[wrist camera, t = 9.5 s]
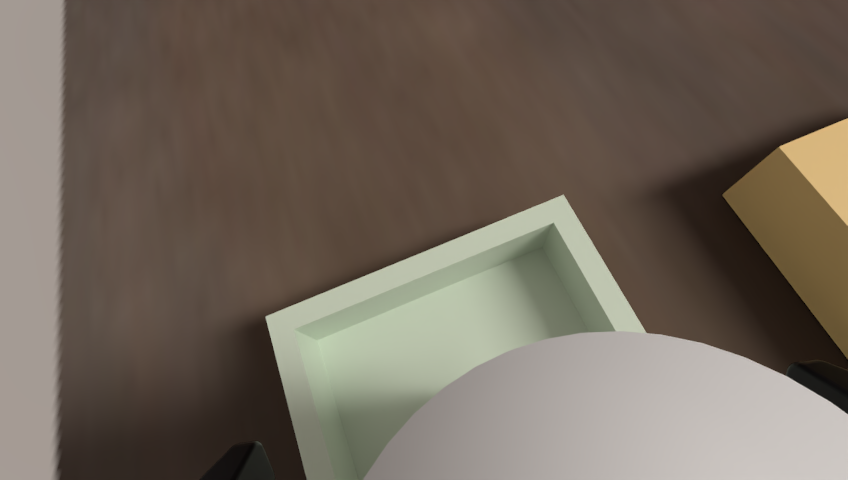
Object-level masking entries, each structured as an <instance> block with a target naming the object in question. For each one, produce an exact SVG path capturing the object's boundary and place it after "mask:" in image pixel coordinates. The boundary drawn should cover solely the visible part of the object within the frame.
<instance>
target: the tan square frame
mask: <svg viewBox="0 0 848 480" xmlns="http://www.w3.org/2000/svg"><path fill="white" fill-rule="evenodd" d="M722 196H723V197H724V198H725V200H726V201H727V202H728V204H729V205H730V206H731V207H732V209H733V210H734V211H735V213H736V214H737V215H738V217H739V218H740V219H741V221H742V222H743V223H744V224H745V226H746V227H747V228H748V230H749V231H750V232H751V234H752V235H753V236H754V238H755V239H756V240H757V241H758V243H759V244H760V245H761V247H762V248H763V249H764V251H765V252H766V253H767V254H768V256H769V257H770V258H771V260H772V261H773V262H774V264H775V265H776V266H777V268H778V269H779V270H780V271H781V273H782V274H783V275H784V277H785V278H786V279H787V281H788V282H789V283H790V285H791V286H792V287H793V288H794V290H795V291H796V292H797V294H798V295H799V296H800V298H801V299H802V300H803V301H804V303H805V304H806V305H807V307H808V308H809V309H810V311H811V312H812V313H813V315H814V316H815V317H816V318H817V320H818V321H819V322H820V324H821V325H822V326H823V328H824V329H825V330H826V332H827V333H828V334H829V335H830V337H831V338H832V339H833V341H834V342H835V343H836V345H837V346H838V347H839V349H840V350H841V351H842V352H843V354H844V355H845V356H846V358H847V359H848V118H847V119H845V120H842V121H840V122H837V123H835V124H833V125H830V126H828V127H825V128H823V129H820V130H818V131H816V132H813V133H811V134H808V135H806V136H804V137H801V138H799V139H796V140H794V141H791V142H789V143H787V144H784V145H782V146H779V147H778V148H777V149H776V150H774V151H773V152H772V153H771V154H770V155H768V156H767V157H766V158H765V159H764V160H763V161H761V162H760V163H759V164H758V165H757V166H755V167H754V168H753V169H752V170H751V171H750V172H748V173H747V174H746V175H745V176H744V177H742V178H741V179H740V180H739V181H738V182H737V183H735V184H734V185H733V186H732V187H731V188H729V189H728V190H727V191H726V192H725V193H724V194H722Z"/></svg>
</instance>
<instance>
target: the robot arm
mask: <svg viewBox="0 0 848 480" xmlns="http://www.w3.org/2000/svg"><path fill="white" fill-rule="evenodd" d="M786 376H787V377H789V378H790V379H792V380H794V381H796V382H797V383H799V384H801V385H802V386H804V387H806V388H808V389H809V390H811V391H813V392H814V393H816V394H818V395H820V396H821V397H823V398H825V399H826V400H828V401H830V402H831V403H833V404H834V405H835V406H837V407H838V408H840V409H841V410H842V411H844V412H845V413H847V414H848V370H847V369H844V368H841V367H839V366H836V365H833V364H831V363H828V362H825V361H822V360H808V361H801V362H795V363H792V364H791V365H790V366H789V367H788V369H787V373H786ZM200 480H275V476H274V472H273V469H272V467H271V464H270V462H269V460H268V457H267V455H266V453H265V450H264V448H263V446H262V444H261V443H260V442H258V441H251V442H244V443H238V444H235V445H234V446H232V447H231V448H230V449H229V450H228V451H227V452H226V453H225V454H224V455H223V456H222V457H221V458H220V459H219V460H218V461H217V462H216V463H215V464H214V465H213V466H212V467H211V468H210V469H209V470H208V471H207V472H206V473H205V474H204V475H203V476H202V477H201V478H200Z"/></svg>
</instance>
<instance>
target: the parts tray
mask: <svg viewBox="0 0 848 480" xmlns="http://www.w3.org/2000/svg"><path fill="white" fill-rule="evenodd" d="M265 317H266V321H267V325H268V329H269V333H270V337H271V341H272V345H273V349H274V353H275V357H276V360H277V364H278V368H279V372H280V376H281V380H282V384H283V388H284V392H285V396H286V400H287V404H288V408H289V412H290V416H291V420H292V424H293V427H294V431H295V435H296V439H297V443H298V447H299V451H300V455H301V459H302V463H303V467H304V471H305V475H306V479H307V480H363V479H364V477H365V476H366V475H367V473H368V472H369V470H370V469H371V467H372V466H373V464H374V463H375V461H376V460H377V458H378V457H379V455H380V454H381V453H382V451H383V450H384V448H385V447H386V445H387V444H388V443H389V442H390V440H391V439H392V438H393V437H394V436H395V435H396V434H397V432H398V431H399V430H400V429H401V428H402V427H403V426H404V425H405V423H406V422H407V421H408V420H409V419H410V418H411V417H412V415H413V414H414V413H415V412H416V411H418V410H419V409H420V408H421V407H422V406H423V405H425V404H426V403H427V402H428V401H429V400H430V399H431V398H433V397H434V396H435V395H436V394H437V393H438V392H439V391H441V390H442V389H443V388H444V387H446V386H447V385H449V384H450V383H452V382H453V381H455V380H456V379H458V378H459V377H461V376H462V375H464V374H465V373H467V372H468V371H470V370H471V369H473V368H474V367H476V366H478V365H480V364H482V363H484V362H487V361H489V360H491V359H493V358H495V357H497V356H499V355H501V354H503V353H505V352H507V351H510V350H513V349H516V348H519V347H522V346H525V345H528V344H532V343H535V342H538V341H541V340H544V339H549V338H555V337H561V336H566V335H572V334H578V333H588V332H612V331H625V332H637V333H646V332H645V330H644V328H643V327H642V325H641V323H640V322H639V320H638V318H637V317H636V315H635V313H634V312H633V310H632V308H631V307H630V305H629V303H628V302H627V300H626V298H625V297H624V295H623V293H622V292H621V290H620V288H619V287H618V285H617V283H616V282H615V280H614V278H613V277H612V275H611V273H610V271H609V270H608V268H607V266H606V265H605V263H604V261H603V260H602V258H601V256H600V255H599V253H598V251H597V250H596V248H595V246H594V245H593V243H592V241H591V240H590V238H589V236H588V235H587V233H586V231H585V230H584V228H583V226H582V225H581V223H580V221H579V220H578V218H577V216H576V215H575V213H574V211H573V210H572V208H571V206H570V205H569V203H568V201H567V200H566V198H565V196H564V195H562V196H559V197H557V198H554V199H552V200H550V201H547V202H545V203H542V204H540V205H537V206H535V207H532V208H530V209H527V210H525V211H523V212H520V213H518V214H515V215H513V216H510V217H508V218H505V219H503V220H501V221H498V222H496V223H493V224H491V225H488V226H486V227H483V228H481V229H479V230H476V231H474V232H471V233H469V234H466V235H464V236H461V237H459V238H456V239H454V240H452V241H449V242H447V243H444V244H442V245H439V246H437V247H434V248H432V249H430V250H427V251H425V252H422V253H420V254H417V255H415V256H412V257H410V258H407V259H405V260H403V261H400V262H398V263H395V264H393V265H390V266H388V267H385V268H383V269H381V270H378V271H376V272H373V273H371V274H368V275H366V276H363V277H361V278H359V279H356V280H354V281H351V282H349V283H346V284H344V285H341V286H339V287H336V288H334V289H332V290H329V291H327V292H324V293H322V294H319V295H317V296H314V297H312V298H310V299H307V300H305V301H302V302H300V303H297V304H295V305H292V306H290V307H287V308H285V309H283V310H280V311H278V312H275V313H273V314H270V315H268V316H265Z"/></svg>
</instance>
